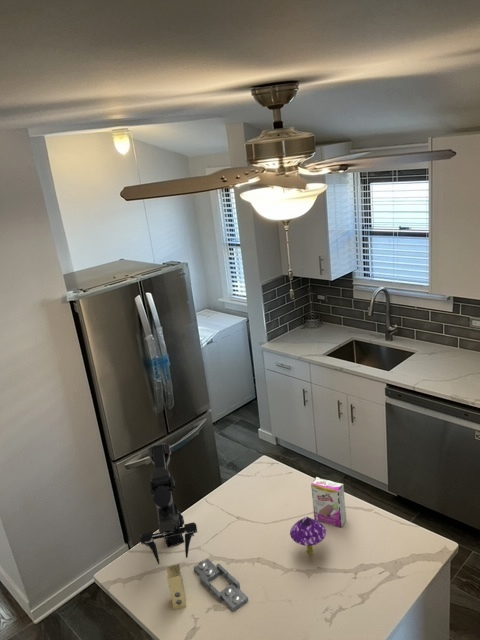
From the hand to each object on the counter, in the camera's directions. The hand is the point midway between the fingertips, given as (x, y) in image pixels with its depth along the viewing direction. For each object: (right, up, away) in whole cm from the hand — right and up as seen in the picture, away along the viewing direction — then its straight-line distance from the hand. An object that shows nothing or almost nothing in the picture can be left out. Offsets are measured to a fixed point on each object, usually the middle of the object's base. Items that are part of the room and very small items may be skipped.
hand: (172, 561), depth 170 cm
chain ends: (+15, -9, +3) cm, 18 cm away
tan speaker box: (+2, -13, -2) cm, 13 cm away
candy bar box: (+56, +3, +26) cm, 62 cm away
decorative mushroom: (+46, -3, +11) cm, 48 cm away
